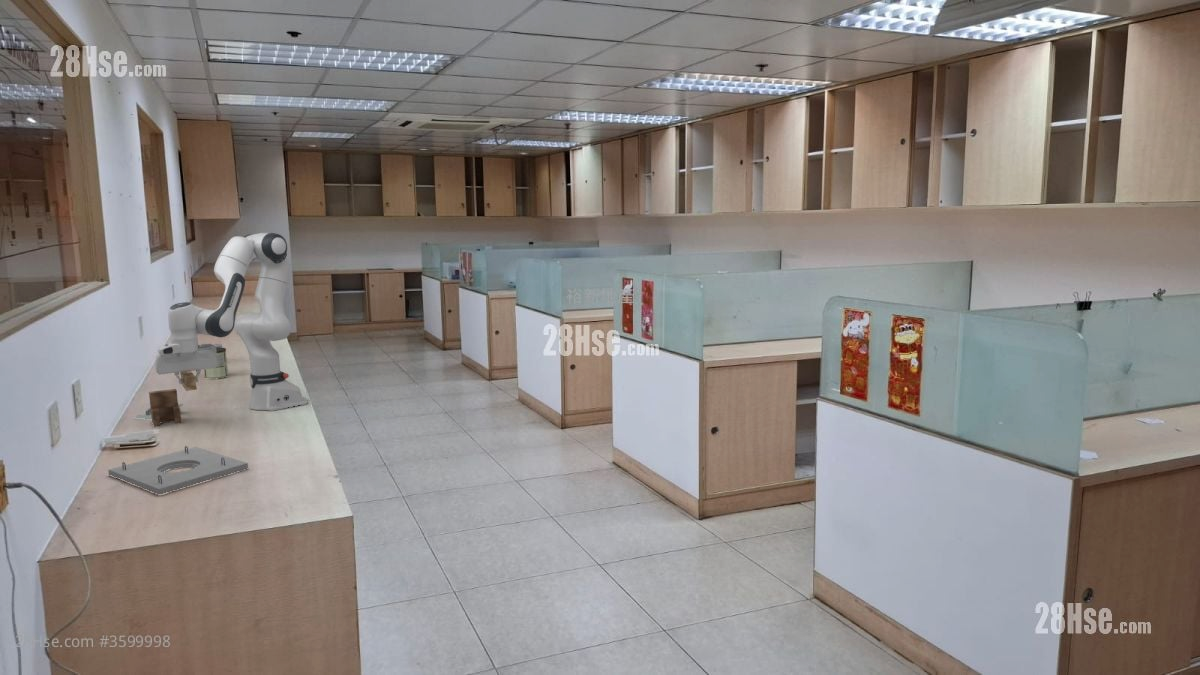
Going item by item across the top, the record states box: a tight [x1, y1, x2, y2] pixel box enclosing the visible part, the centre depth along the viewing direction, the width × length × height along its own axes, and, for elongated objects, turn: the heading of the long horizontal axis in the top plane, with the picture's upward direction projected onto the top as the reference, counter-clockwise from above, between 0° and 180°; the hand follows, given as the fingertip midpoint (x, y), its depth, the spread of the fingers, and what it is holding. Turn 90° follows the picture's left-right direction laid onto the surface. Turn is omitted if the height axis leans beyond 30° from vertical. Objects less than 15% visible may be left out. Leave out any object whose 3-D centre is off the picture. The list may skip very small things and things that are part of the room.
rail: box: [179, 371, 198, 392], centre depth 280 cm, size 3×13×6 cm, turn 36°
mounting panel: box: [107, 445, 249, 494], centre depth 231 cm, size 27×5×30 cm
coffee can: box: [203, 347, 229, 380], centre depth 364 cm, size 10×10×14 cm
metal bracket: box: [135, 403, 184, 419], centre depth 296 cm, size 14×6×15 cm
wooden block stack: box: [148, 388, 182, 427], centre depth 285 cm, size 9×8×12 cm
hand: (188, 382), depth 280 cm, fingers closed on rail, 3 cm apart
